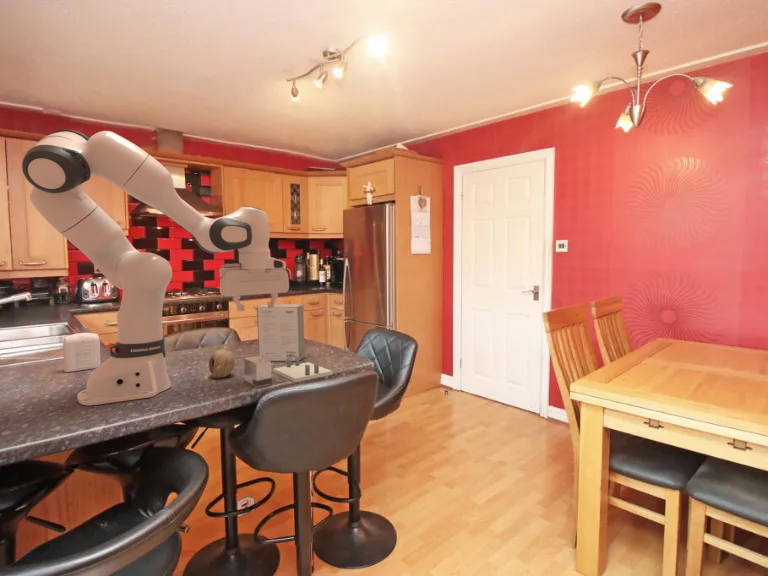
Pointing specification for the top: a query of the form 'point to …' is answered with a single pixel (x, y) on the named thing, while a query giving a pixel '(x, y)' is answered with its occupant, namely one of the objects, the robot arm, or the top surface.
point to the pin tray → (301, 370)
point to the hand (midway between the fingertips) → (256, 309)
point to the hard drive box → (280, 332)
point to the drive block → (257, 371)
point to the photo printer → (81, 352)
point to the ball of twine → (221, 363)
